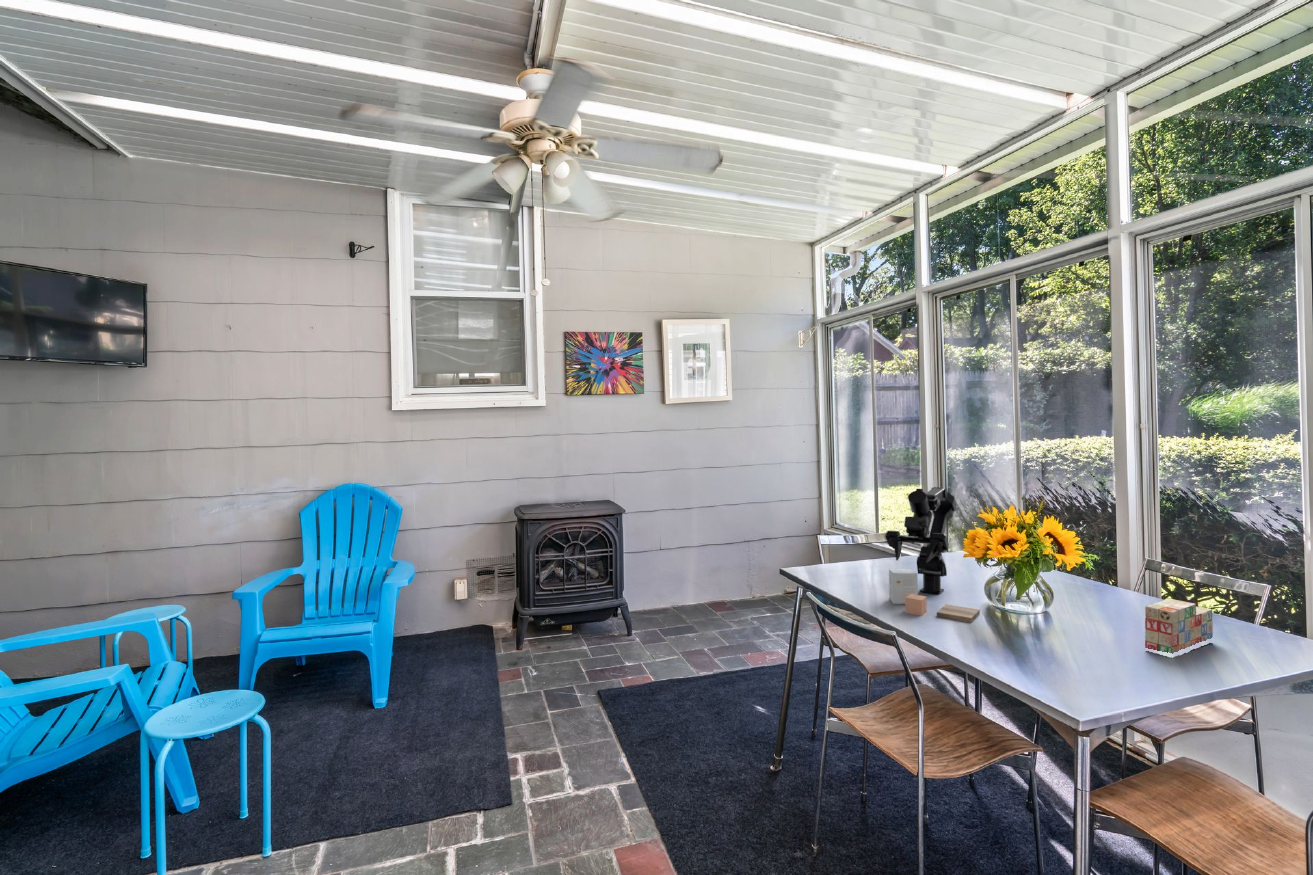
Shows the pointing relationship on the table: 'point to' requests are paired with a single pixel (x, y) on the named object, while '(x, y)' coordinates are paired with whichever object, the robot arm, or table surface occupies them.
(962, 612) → the walnut base
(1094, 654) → the table surface
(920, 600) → the terracotta cube
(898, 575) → the small box
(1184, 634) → the stack of blocks
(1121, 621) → the table surface
